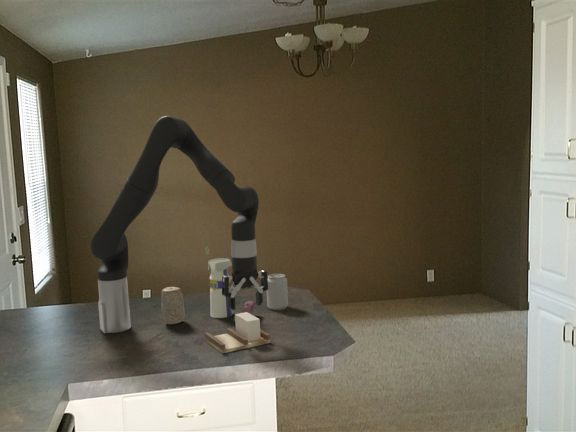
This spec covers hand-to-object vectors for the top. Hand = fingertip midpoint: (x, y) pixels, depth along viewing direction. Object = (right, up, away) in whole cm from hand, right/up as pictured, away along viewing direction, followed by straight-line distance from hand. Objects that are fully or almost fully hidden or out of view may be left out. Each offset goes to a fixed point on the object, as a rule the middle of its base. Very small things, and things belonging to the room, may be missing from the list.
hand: (245, 307), depth 177 cm
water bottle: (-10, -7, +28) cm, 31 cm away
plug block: (+1, -9, +1) cm, 9 cm away
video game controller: (-2, -8, +23) cm, 25 cm away
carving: (-26, -9, +21) cm, 34 cm away
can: (+9, -6, +34) cm, 36 cm away
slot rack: (-3, -10, 0) cm, 11 cm away
